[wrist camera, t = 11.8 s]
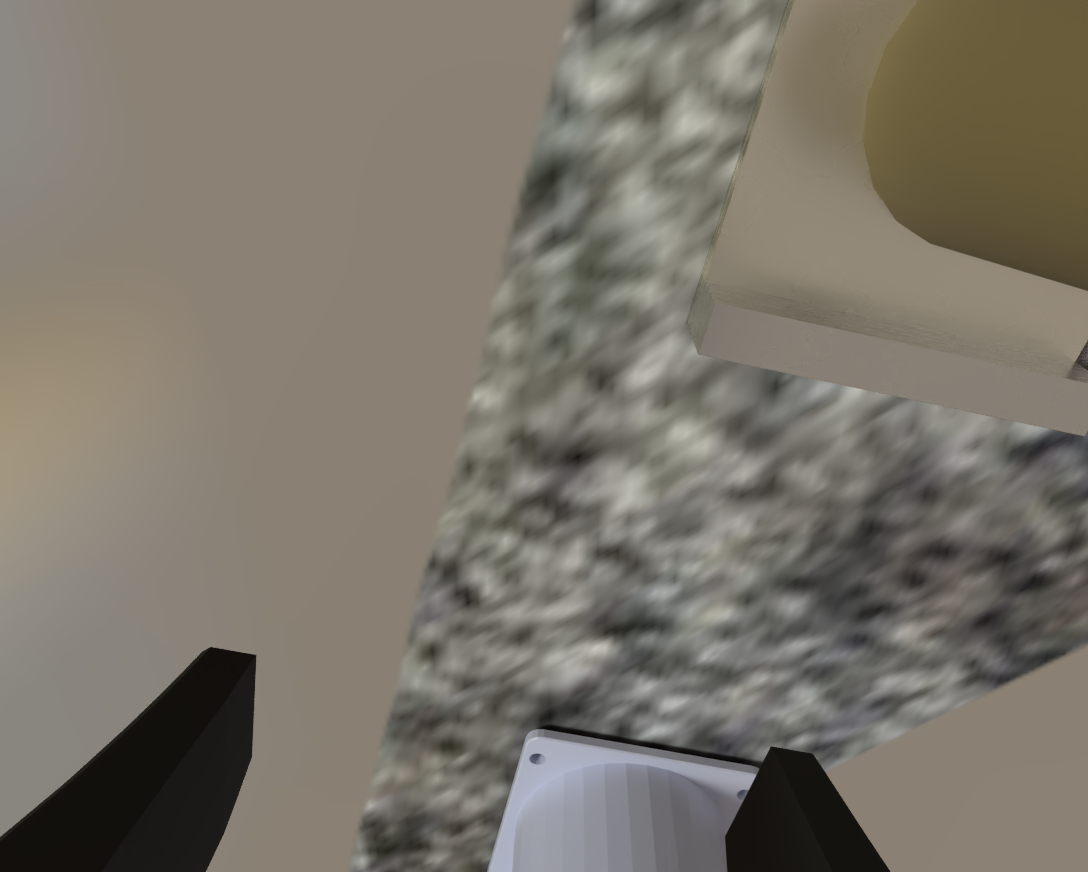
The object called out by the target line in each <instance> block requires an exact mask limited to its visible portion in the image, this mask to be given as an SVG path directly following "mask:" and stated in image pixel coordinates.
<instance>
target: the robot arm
mask: <svg viewBox="0 0 1088 872" xmlns="http://www.w3.org/2000/svg"><path fill="white" fill-rule="evenodd" d="M255 672H256V655H253V654H247V653H241V652H235V651H230V650H224V649H219V648H213V647H210V648H208V649H206V650H205V651H203V652H202V653H201V654H200V655H199V656H198V657H197V658H196V659H195V660H194V661H193V662H192V663H191V664H190V665H189V666H188V667H187V668H186V669H185V670H184V671H183V673H181V674H180V675H179V676H178V677H177V678H176V679H175V680H174V681H173V682H172V683H171V684H170V685H169V686H168V687H167V688H166V690H164V691H163V692H162V693H161V694H160V695H159V696H158V697H157V698H156V699H155V700H154V701H153V702H152V703H151V704H150V705H149V706H148V707H147V708H146V709H145V710H144V711H143V712H142V713H141V714H140V715H139V716H138V717H137V718H136V719H135V720H134V721H132V723H130V724H129V725H128V726H127V727H126V728H125V729H124V730H123V731H122V732H121V733H120V734H119V735H118V736H116V737H115V738H114V739H113V740H112V741H111V742H110V743H109V744H108V745H107V746H105V747H104V748H103V749H102V750H101V751H100V752H99V753H98V754H97V755H96V756H94V757H93V758H92V759H91V760H90V761H89V762H88V763H87V764H86V765H84V766H83V768H81V769H80V770H79V771H78V772H77V773H76V774H75V775H74V776H72V777H71V778H70V779H69V780H68V781H67V782H66V783H64V784H63V785H62V786H61V787H60V788H59V789H57V790H56V791H55V792H54V793H53V794H52V795H50V796H49V797H48V798H47V799H45V800H44V801H43V802H42V803H41V804H39V805H38V806H37V807H36V808H35V809H33V810H32V811H31V812H30V813H29V814H27V815H26V816H25V817H24V818H23V819H21V820H20V821H19V822H18V823H17V824H15V825H14V826H13V827H12V828H11V829H9V830H8V831H7V832H6V833H5V834H3V835H2V836H1V837H0V872H206V870H207V868H208V866H209V864H210V862H211V860H212V857H213V855H214V853H215V851H216V849H217V847H218V845H219V843H220V840H221V839H222V836H223V834H224V832H225V829H226V827H227V824H228V821H229V818H230V816H231V813H232V810H233V808H234V805H235V802H236V800H237V797H238V794H239V791H240V788H241V786H242V783H243V780H244V777H245V775H246V772H247V769H248V766H249V763H250V761H251V758H252V740H253V717H254V695H255ZM487 872H890V870H889V869H888V867H887V866H886V864H885V863H884V861H883V860H882V859H881V857H880V856H879V854H878V852H877V851H876V849H875V848H874V846H873V845H872V843H871V842H870V840H869V839H868V838H867V836H866V834H865V833H864V831H863V830H862V828H861V827H860V825H859V824H858V822H857V821H856V819H855V818H854V816H853V814H852V813H851V811H850V810H849V808H848V807H847V805H846V804H845V802H844V801H843V799H842V798H841V796H840V795H839V793H838V791H837V790H836V788H835V787H834V785H833V784H832V782H831V781H830V779H829V778H828V776H827V774H826V773H825V771H824V770H823V768H822V767H821V765H820V764H819V762H818V761H817V759H816V758H815V756H814V755H813V754H811V753H805V752H800V751H794V750H788V749H783V748H777V747H771V748H770V750H769V752H768V754H767V755H766V757H765V759H764V761H763V763H762V765H761V767H760V769H759V768H757V767H754V766H751V765H745V764H739V763H733V762H728V761H722V760H716V759H711V758H705V757H699V756H694V755H688V754H682V753H676V752H671V751H665V750H659V749H654V748H648V747H642V746H637V745H631V744H625V743H619V742H614V741H608V740H602V739H597V738H591V737H585V736H579V735H574V734H568V733H562V732H557V731H551V730H545V729H537V730H533V731H531V732H530V733H528V735H527V736H526V739H525V742H524V746H523V749H522V752H521V756H520V759H519V763H518V766H517V770H516V773H515V777H514V780H513V784H512V787H511V791H510V794H509V798H508V801H507V804H506V808H505V811H504V815H503V818H502V822H501V825H500V829H499V832H498V836H497V839H496V843H495V846H494V849H493V853H492V856H491V860H490V863H489V867H488V870H487Z"/></svg>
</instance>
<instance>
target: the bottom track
mask: <svg viewBox="0 0 1088 872" xmlns="http://www.w3.org/2000/svg"><path fill="white" fill-rule="evenodd" d="M917 1H918V0H788V3H787V6H786V9H785V12H784V16H783V19H782V22H781V25H780V28H779V31H778V35H777V38H776V41H775V44H774V47H773V50H772V54H771V57H770V60H769V63H768V66H767V69H766V73H765V76H764V79H763V82H762V85H761V88H760V92H759V95H758V98H757V101H756V104H755V108H754V111H753V114H752V117H751V120H750V123H749V127H748V130H747V133H746V136H745V139H744V142H743V146H742V149H741V152H740V155H739V158H738V161H737V165H736V168H735V171H734V174H733V177H732V180H731V184H730V187H729V190H728V193H727V196H726V199H725V203H724V206H723V209H722V212H721V215H720V218H719V222H718V225H717V228H716V231H715V234H714V237H713V241H712V244H711V247H710V250H709V253H708V256H707V260H706V263H705V266H704V269H703V272H702V275H701V279H700V282H699V285H698V288H697V291H696V295H695V298H694V301H693V304H692V307H691V310H690V314H689V317H688V320H687V324H688V327H689V330H690V333H691V335H692V338H693V341H694V344H695V347H696V349H697V352H698V354H699V355H703V356H708V357H713V358H717V359H722V360H727V361H732V362H736V363H741V364H746V365H751V366H755V367H760V368H765V369H769V370H774V371H779V372H784V373H788V374H793V375H798V376H803V377H807V378H812V379H817V380H821V381H826V382H831V383H836V384H840V385H845V386H850V387H855V388H859V389H864V390H869V391H873V392H878V393H883V394H888V395H892V396H897V397H902V398H907V399H911V400H916V401H921V402H925V403H930V404H935V405H940V406H944V407H949V408H954V409H959V410H963V411H968V412H973V413H977V414H982V415H987V416H992V417H996V418H1001V419H1006V420H1011V421H1015V422H1020V423H1025V424H1029V425H1034V426H1039V427H1044V428H1048V429H1053V430H1058V431H1063V432H1067V433H1072V434H1077V435H1081V436H1085V434H1086V433H1087V431H1088V370H1086V369H1085V368H1083V367H1082V366H1081V365H1079V364H1078V363H1076V362H1075V361H1076V359H1077V358H1078V356H1079V354H1080V353H1081V351H1082V349H1083V347H1084V346H1085V344H1086V342H1087V341H1088V291H1086V290H1083V289H1079V288H1076V287H1073V286H1069V285H1066V284H1063V283H1059V282H1056V281H1053V280H1050V279H1046V278H1043V277H1040V276H1036V275H1033V274H1030V273H1026V272H1023V271H1020V270H1016V269H1013V268H1010V267H1006V266H1003V265H1000V264H996V263H993V262H990V261H986V260H983V259H980V258H976V257H973V256H970V255H966V254H963V253H960V252H956V251H953V250H950V249H946V248H943V247H940V246H936V245H933V244H930V243H928V242H927V241H925V240H924V239H922V238H921V237H919V236H918V235H916V234H915V233H913V232H912V231H910V230H909V229H907V228H906V227H904V226H903V225H901V224H900V223H898V222H897V221H896V220H895V218H894V217H893V215H892V214H891V212H890V211H889V209H888V208H887V206H886V205H885V204H884V202H883V201H882V199H881V198H880V196H879V195H878V193H877V192H876V190H875V189H874V187H873V183H872V178H871V174H870V170H869V166H868V162H867V158H866V154H865V150H864V145H863V143H864V131H865V119H866V107H867V96H868V93H869V90H870V88H871V85H872V82H873V80H874V77H875V75H876V72H877V69H878V67H879V64H880V61H881V59H882V56H883V53H884V51H885V48H886V46H887V44H888V42H889V41H890V39H891V38H892V37H893V35H894V34H895V32H896V31H897V30H898V28H899V27H900V25H901V24H902V23H903V21H904V20H905V18H906V17H907V15H908V14H909V13H910V11H911V10H912V8H913V7H914V6H915V4H916V3H917Z"/></svg>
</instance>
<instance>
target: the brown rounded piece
mask: <svg viewBox="0 0 1088 872" xmlns="http://www.w3.org/2000/svg"><path fill="white" fill-rule="evenodd" d="M863 145H864V150H865V154H866V158H867V162H868V166H869V170H870V174H871V178H872V183H873V187H874V189H875V190H876V192H877V193H878V195H879V196H880V198H881V199H882V201H883V202H884V204H885V205H886V206H887V208H888V209H889V211H890V212H891V214H892V215H893V217H894V218H895V220H896V221H897V222H898V223H900V224H901V225H903V226H904V227H906V228H907V229H909V230H910V231H912V232H913V233H915V234H916V235H918V236H919V237H921V238H922V239H924V240H925V241H927V242H928V243H930V244H933V245H936V246H940V247H943V248H946V249H950V250H953V251H956V252H960V253H963V254H966V255H970V256H973V257H976V258H980V259H983V260H986V261H990V262H993V263H996V264H1000V265H1003V266H1006V267H1010V268H1013V269H1016V270H1020V271H1023V272H1026V273H1030V274H1033V275H1036V276H1040V277H1043V278H1046V279H1050V280H1053V281H1056V282H1059V283H1063V284H1066V285H1069V286H1073V287H1076V288H1079V289H1083V290H1086V291H1088V0H918V1H917V3H916V4H915V6H914V7H913V8H912V10H911V11H910V13H909V14H908V15H907V17H906V18H905V20H904V21H903V23H902V24H901V25H900V27H899V28H898V30H897V31H896V32H895V34H894V35H893V37H892V38H891V39H890V41H889V42H888V44H887V46H886V48H885V51H884V53H883V56H882V59H881V61H880V64H879V67H878V69H877V72H876V75H875V77H874V80H873V82H872V85H871V88H870V90H869V93H868V96H867V107H866V119H865V131H864V143H863Z"/></svg>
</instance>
